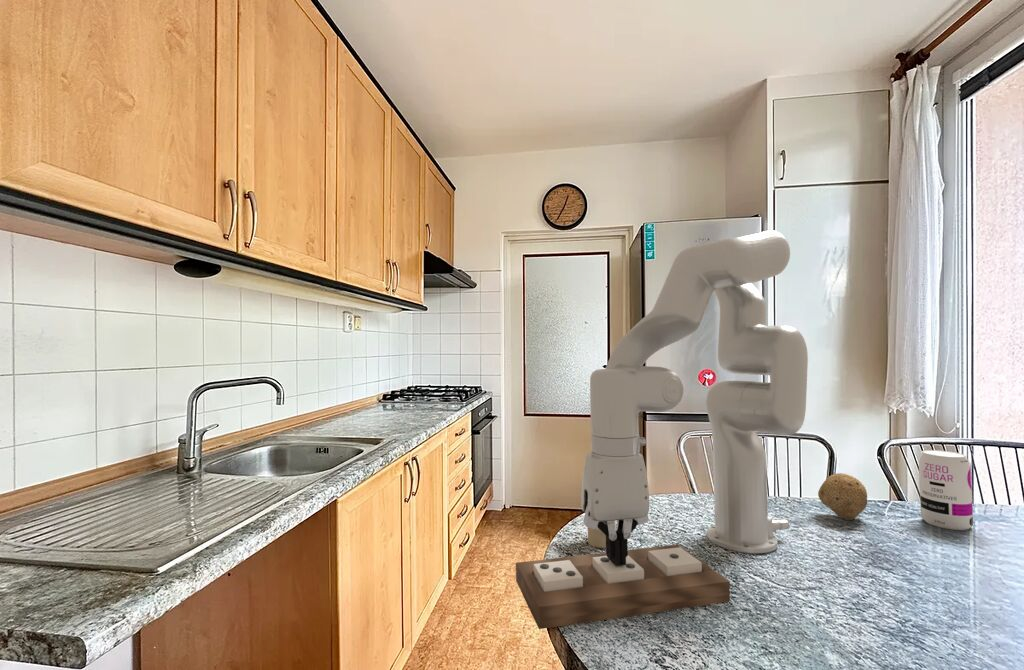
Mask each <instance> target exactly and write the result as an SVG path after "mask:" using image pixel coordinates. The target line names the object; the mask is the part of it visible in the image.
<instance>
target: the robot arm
mask: <svg viewBox="0 0 1024 670" xmlns="http://www.w3.org/2000/svg"><path fill="white" fill-rule="evenodd" d="M790 258H791V247H790V244H789V242H788V240H787V239H786V237H785V236H784V235H783V234H782V233H780V232H778V231H776V230H771V229H770V230H769V229H768V230H764V231H761V232H760V231H759V232H755V233H750V234H746V235H742V236H735V237H730V238H724V239H720V240H716V241H711V242H707V243H702V244H698V245H693V246H690V247H687V248H685V249H683V250H682V251H680V252H679V253H678V254H677V255H676V256H675V259H674V260H673V262H672V265H671V267H670V268H669V272H668V274H667V275H666V278H665V281H664V283H663V285H662V288H661V290H660V293H659V295H658V297H657V299H656V302H655V303H654V305H653V308H652V310H651V311H650V312H649V313H647V315H645V316H644V317H643V318H642V319H640V320H639V321H638V322H637V323H636V324H635V325H634V326H633V327H631V329H630V330H629V331H628V332H627V333H626V334H624V335H623V337H622V338H620V340H619V342H618V343H617V344H616V345H615V347H614V349H613V350H612V352H611V354H610V357H609V359H608V361H607V364H606V366H605V368H600V369H596V370H594V371H592V372H591V374H590V378H589V380H590V381H589V399H590V401H589V402H590V452H588V453H586V455H585V458H584V464H583V471H582V478H581V480H582V481H581V495H580V496H581V498H580V499H581V501H580V502H581V503H580V504H581V505H580V506H581V511H583V513H584V517H583V521H582V523H583V525H584V526H585V527H587V529H588V528H592V529H600V530H601V531H602V532H603V533H604V534H605V535H606V548H605V553H606V555H607V557H608V558H609V560H610V561H611V562H612V563H613V564H614V565H615V566H620V564H621V565H626V557H627V556H628V550H629V548H628V539H630V538H631V534H632V532H633V531H634V530H635V529H636V528H637V526H640V525H642V524H645V523H647V522H649V518H650V517H649V510H650V489H649V481H648V474H647V469H646V465H645V464H646V463H645V460H644V456H643V454H642V453H640V451H641V447H642V446H646V444H647V439H646V437H644V436H642V437H641V436H640V434H639V433H640V432H639V430H640V427H639V413H640V412H648V413H649V412H650V413H651V412H653V413H665V412H666V413H667V412H669V411H670V410H673V409H675V408H677V406H678V405H679V404H680V402H681V401H682V399H683V395H684V385H683V384H684V383H683V380H682V379H681V377H679V375H678V374H677V373H676V372H675V371H673V370H672V369H669V368H666V367H662V366H646V365H644V364H645V363H646V362H647V360H649V359H650V357H652V355H654V354H655V353H657V352H658V351H661V350H662V349H664V348H666V347H668V346H670V345H672V344H674V343H676V342H677V343H678V342H680V341H681V340H683V339H684V338H687V337H689V336H690V335H692V334H694V333H695V332H697V330H698V329H699V328H700V325H701V323H702V320H703V317H704V315H705V312H706V309H707V307H708V305H709V302H710V300H711V296H712V295H713V292H714V293H715V296H716V298H717V300H718V304H719V325H718V340H717V341H718V343H717V360H718V364H719V366H720V367H721V369H722V370H723V371H725V372H727V373H731V374H736V375H751V376H752V375H753V376H755V375H756V376H769V381H770V382H767V381H766V382H765V381H763V382H761V381H751V380H749V381H748V380H725V381H720V382H718V383H716V384H714V385H713V386H712V387H710V389H709V390H708V392H707V394H706V400H705V401H706V402H705V403H706V404H705V405H706V411H707V417H708V420H709V424H710V430H711V438H712V457H713V461H712V462H713V463H712V464H713V494H714V497H713V498H714V500H713V501H714V524H713V525H711V526H709V527H708V528H707V529H706V536H707V539H708V540H709V541H710V542H711V543H713V544H715V545H716V546H719V547H720V548H723V549H727V550H730V551H733V552H738V553H745V554H746V553H747V554H766V553H771V552H774V551H775V550H777V549H778V547H779V545H778V544H779V542H778V538H777V537H776V536H775V535H774V533H775V532H776V531H784V530H785V531H786V530H789V528H790V523H789V521H788V520H787V519H785V518H781V519H775V520H774V519H773V517H772V516H769V514H768V513H769V511H768V509H769V508H768V507H769V506H768V483H767V482H768V479H767V478H768V477H767V476H768V475H767V473H768V472H767V454H766V451H765V446H764V444H763V442H762V441H761V439H760V437H759V436H758V435H757V432H758V433H765V434H772V435H781V436H791V435H794V434H796V433H798V432H799V431H800V429H801V428H802V427H803V425H804V422H805V417H806V411H807V388H808V387H807V386H808V369H809V367H808V364H809V360H808V359H809V358H808V356H809V355H808V354H809V353H808V347H807V344H806V340H805V338H804V336H803V334H802V333H801V332H800V331H799V329H796V328H795V327H793V326H789V325H784V324H783V325H778V324H777V325H767V303H766V299H765V298H764V296H763V294H762V293H761V291H759V289H758V288H757V287H756V286H755V285H754V284H753V283H757V282H760V281H763V280H766V279H769V278H773V277H776V276H778V275H780V274H781V273H782V272H783V271H785V269H786V267H787V266H788V264H789V262H790ZM614 521H616V529H615V522H614Z"/></svg>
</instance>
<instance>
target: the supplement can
mask: <svg viewBox="0 0 1024 670" xmlns="http://www.w3.org/2000/svg"><path fill="white" fill-rule="evenodd" d="M971 465H972V464H971V462H970V461H969V459H968V458H967V455H966V454H964V453H961V452H954V451H947V450H940V449H939V450H938V449H937V450H935V449H926V450H922V451H921V454H920V455H919V457H918V476H919V477H918V478H919V497H920V498H919V502H920V517H921V518H922V520H924V522H925V523H927V524H929V525H931V526H933V527H934V526H935V527H937V528H942V529H947V530H954V531H967V530H969V529H971V528H973V527H974V512H973V511H974V510H973V491H972V490H973V489H972V488H973V487H972V466H971Z"/></svg>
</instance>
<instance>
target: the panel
mask: <svg viewBox="0 0 1024 670" xmlns="http://www.w3.org/2000/svg"><path fill="white" fill-rule="evenodd" d="M678 547H681V548H682V549H683V550H685V551H686V552H688V553H689V554H690V555H692V556H693V557H695V558H696V559H697V560H699V561H700V562H702V572H696V573H688V574H680V575H673V576H666V575H665V574H664V573H663V572H661V571H660V570H659V569H658V568H657V567H656V566H654V565H653V564H652V563H651V562H650V561H649V560H648V551H652V550H661V549H670V548H678ZM628 555H629V556H630V557H631V558H632V559H633V560H634V561H635V562H636V563H637V564H638V565H639V566H641V567H642V568H643V569H644V579H642V580H634V581H626V582H618V583H610V584H606V582H605V581H604V580H603V579H602V578H601V577H600V575H599V574H598V573H597V572H596V571H595V570H594V568H593V557H600V556H607V555H606V552H601V553H600V552H599V553H590V554H589V553H588V554H583V555H572V556H564V557H555V558H546V559H545V558H544V559H537V560H529V561H520V562H519V561H518V562H515V582H516V584H517V587H518V588H519V590H520V592H521V594H522V597H523V599H524V601H525V603H526V605H527V606H528V609H529V611H530V613H531V617H533V620H534V621H535V624H536V626H537V628H538V630H542V629H543V630H544V629H550V628H551V629H552V628H556V627H563V626H569V625H578V624H582V623H583V624H584V623H585V624H586V623H593V622H598V621H604V620H610V619H618V618H624V617H630V616H638V615H646V614H652V613H659V612H665V611H673V610H678V609H679V610H680V609H688V608H694V607H700V606H706V605H708V606H709V605H714V604H720V603H721V604H722V603H728V602H731V590H730V589H731V587H730V586H731V583H730V580H729V579H727V578H726V577H725V576H723V575H722V574H720V573H719V572H717V571H716V570H715V569H713V568H712V567H711V566H709V565H707V564H706V563H704V562H703V561H702V560H701V559H699V558H698V557H696V556H695V555H694V554H692V553H691V552H689V551H688V550H686V549H685V548H684V547H682V545H679V544H670V545H662V546H661V545H660V546H653V547H645V548H635V549H628ZM565 560H570V561H571V563H572V564H573V565H574V567H575V568H576V569H577V570H578V572H579V573H580V574H581V576H582V577H583V587H579V588H571V589H564V590H556V591H548V592H543V591H542V590H541V588H540V586H539V584H538V582H537V581H536V579H535V577H534V564H538V563H547V562H556V561H565Z"/></svg>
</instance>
